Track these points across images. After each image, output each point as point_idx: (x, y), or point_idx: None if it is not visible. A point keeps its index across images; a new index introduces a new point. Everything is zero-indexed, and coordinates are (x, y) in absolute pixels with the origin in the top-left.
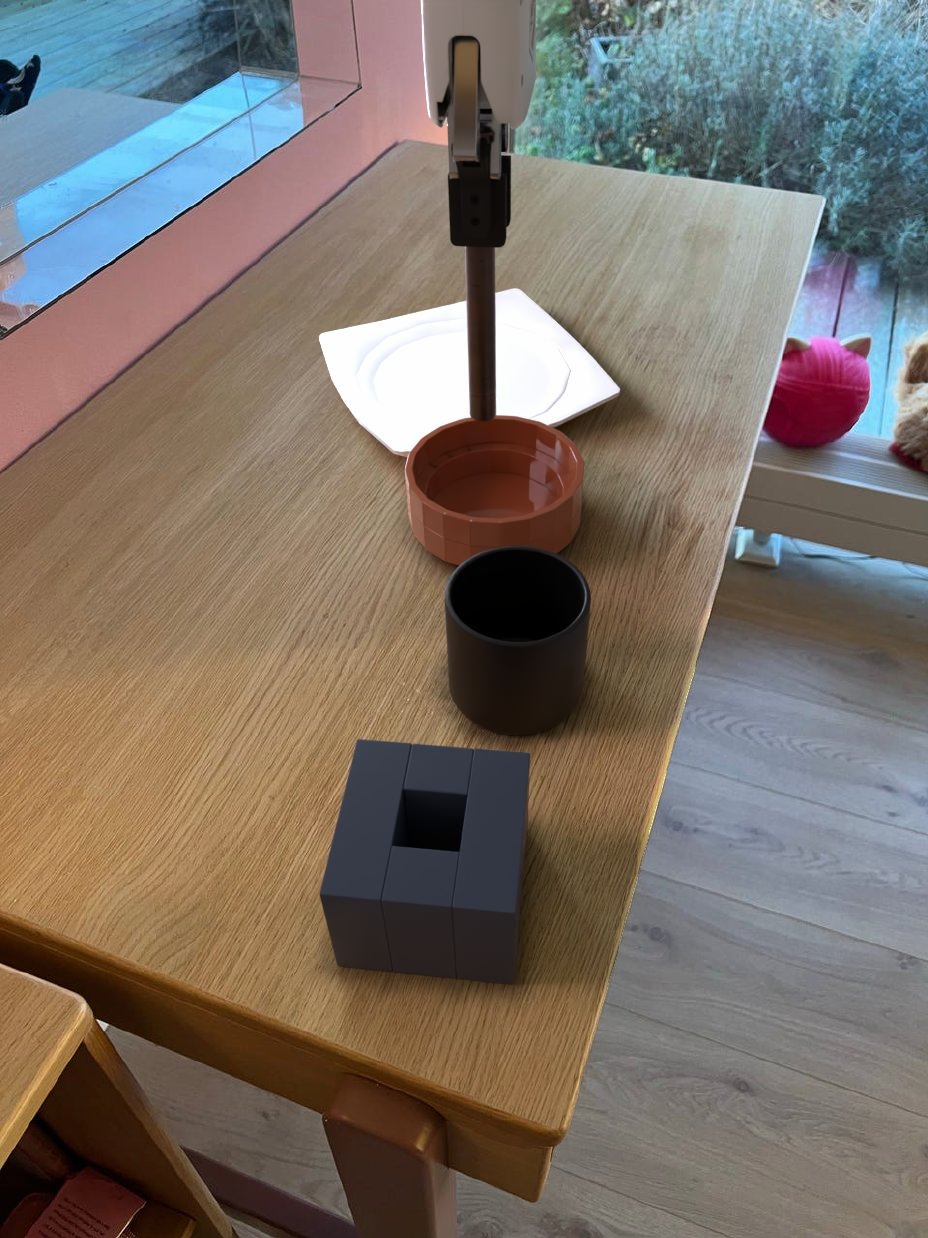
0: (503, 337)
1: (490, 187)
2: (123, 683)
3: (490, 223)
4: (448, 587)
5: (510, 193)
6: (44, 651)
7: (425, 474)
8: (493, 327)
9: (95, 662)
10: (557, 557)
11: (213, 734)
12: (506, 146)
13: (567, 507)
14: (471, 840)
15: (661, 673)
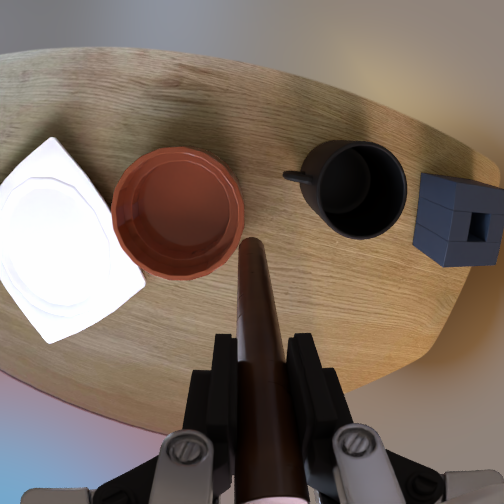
0: (7, 229)
1: (340, 423)
2: (332, 365)
3: (329, 376)
4: (360, 238)
5: (222, 368)
6: None
7: (169, 262)
8: (263, 279)
9: None
10: (328, 164)
11: (364, 322)
12: (212, 447)
13: (210, 155)
14: (488, 209)
15: (321, 93)
